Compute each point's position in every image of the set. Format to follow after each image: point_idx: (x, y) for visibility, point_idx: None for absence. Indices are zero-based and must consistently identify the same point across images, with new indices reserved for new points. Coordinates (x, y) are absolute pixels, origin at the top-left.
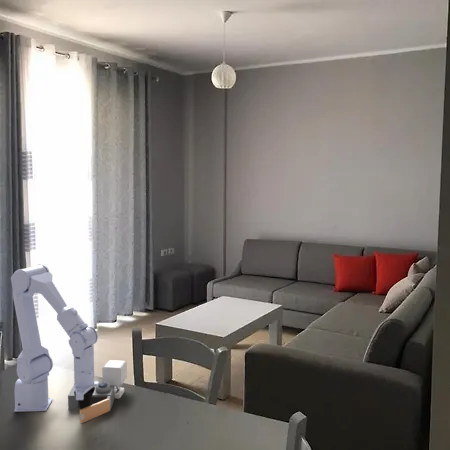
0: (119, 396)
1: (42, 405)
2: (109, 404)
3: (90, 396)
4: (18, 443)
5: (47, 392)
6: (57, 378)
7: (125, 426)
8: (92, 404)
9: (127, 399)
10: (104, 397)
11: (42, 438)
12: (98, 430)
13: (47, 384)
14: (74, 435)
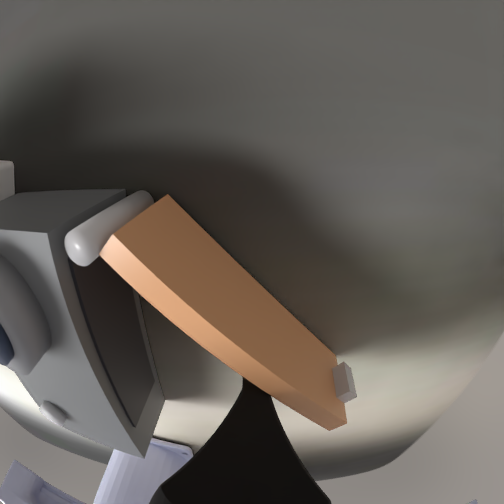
0: (4, 166)
1: (172, 459)
2: (142, 212)
3: (317, 489)
4: (392, 455)
5: (133, 478)
6: (6, 381)
7: (435, 65)
8: (130, 331)
9: (21, 108)
10: (80, 284)
11: (397, 430)
12: (446, 252)
13: (123, 502)
14: (437, 356)
